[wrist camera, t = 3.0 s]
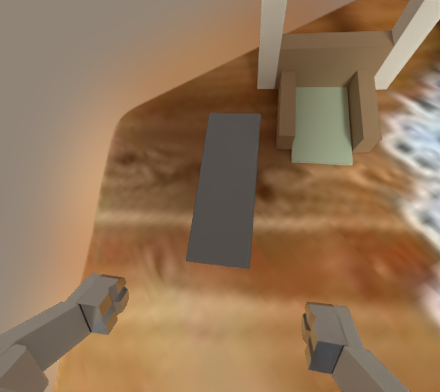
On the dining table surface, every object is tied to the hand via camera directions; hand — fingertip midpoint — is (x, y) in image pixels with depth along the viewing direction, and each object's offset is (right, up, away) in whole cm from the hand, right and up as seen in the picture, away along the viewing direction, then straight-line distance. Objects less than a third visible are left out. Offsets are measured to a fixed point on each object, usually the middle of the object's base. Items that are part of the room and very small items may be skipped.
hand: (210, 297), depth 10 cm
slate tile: (+2, +2, +12) cm, 12 cm away
